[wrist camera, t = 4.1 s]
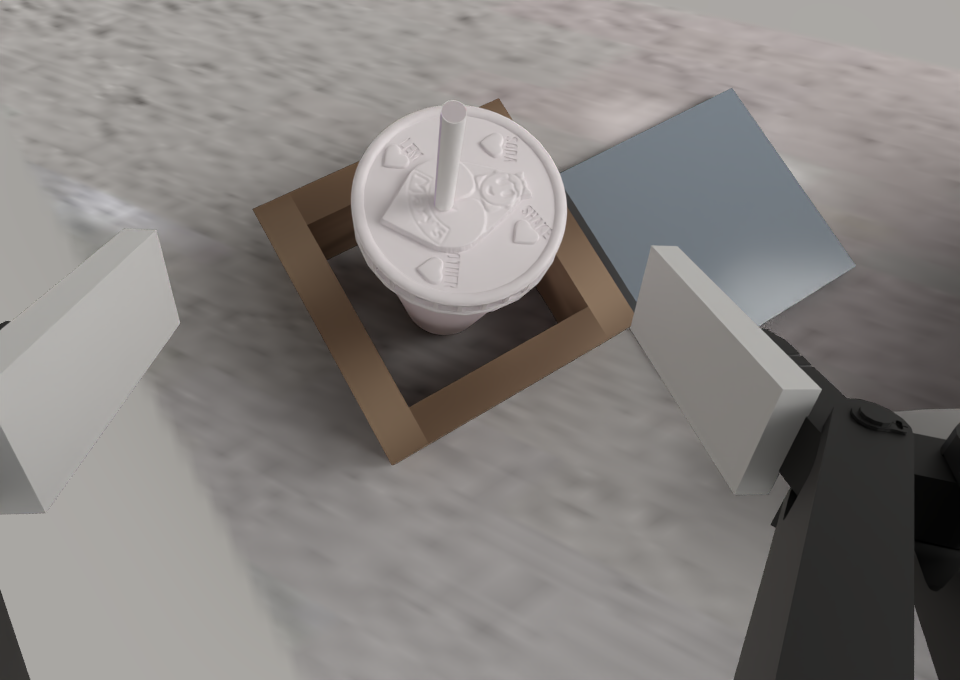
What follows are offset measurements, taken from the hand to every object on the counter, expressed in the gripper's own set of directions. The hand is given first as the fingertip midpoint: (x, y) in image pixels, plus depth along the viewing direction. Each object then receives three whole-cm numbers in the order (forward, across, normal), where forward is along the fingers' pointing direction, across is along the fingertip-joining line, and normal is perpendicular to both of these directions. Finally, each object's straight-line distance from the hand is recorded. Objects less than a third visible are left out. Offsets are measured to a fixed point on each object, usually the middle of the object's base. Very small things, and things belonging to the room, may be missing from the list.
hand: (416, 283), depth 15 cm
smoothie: (+9, +1, -5) cm, 10 cm away
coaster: (+11, +14, -2) cm, 18 cm away
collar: (+9, +1, -5) cm, 10 cm away
